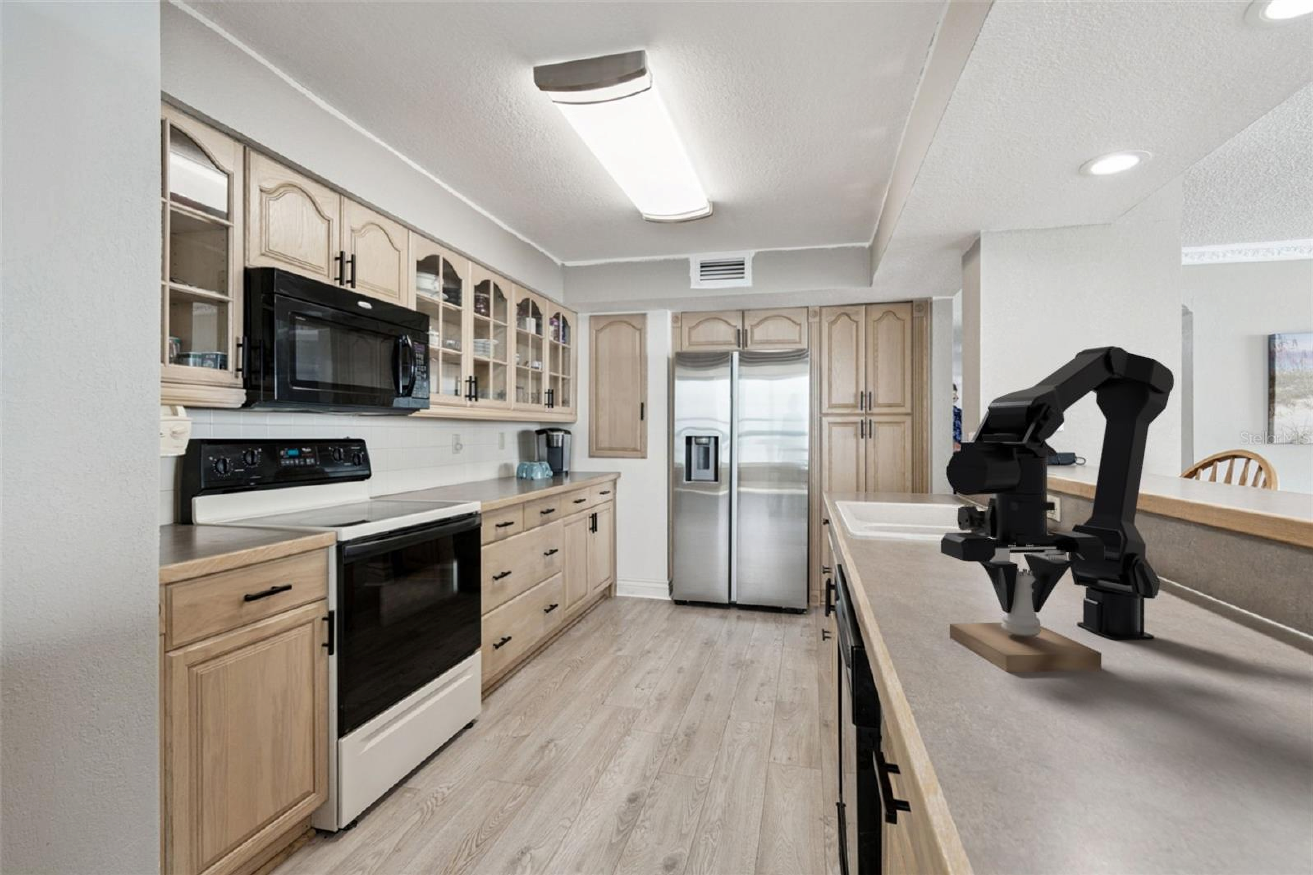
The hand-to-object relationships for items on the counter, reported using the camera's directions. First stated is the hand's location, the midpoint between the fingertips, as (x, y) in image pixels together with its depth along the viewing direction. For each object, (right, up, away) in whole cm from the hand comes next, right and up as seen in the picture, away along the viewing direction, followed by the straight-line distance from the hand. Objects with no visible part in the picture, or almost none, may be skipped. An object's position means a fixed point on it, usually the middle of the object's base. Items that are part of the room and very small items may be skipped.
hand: (1020, 612), depth 77 cm
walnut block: (0, -6, 0) cm, 6 cm away
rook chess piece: (0, -3, 0) cm, 3 cm away
